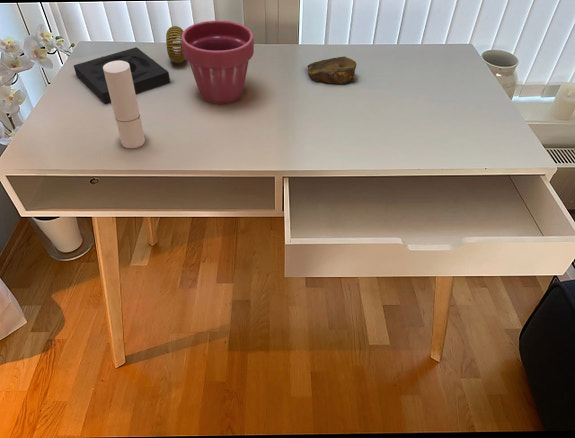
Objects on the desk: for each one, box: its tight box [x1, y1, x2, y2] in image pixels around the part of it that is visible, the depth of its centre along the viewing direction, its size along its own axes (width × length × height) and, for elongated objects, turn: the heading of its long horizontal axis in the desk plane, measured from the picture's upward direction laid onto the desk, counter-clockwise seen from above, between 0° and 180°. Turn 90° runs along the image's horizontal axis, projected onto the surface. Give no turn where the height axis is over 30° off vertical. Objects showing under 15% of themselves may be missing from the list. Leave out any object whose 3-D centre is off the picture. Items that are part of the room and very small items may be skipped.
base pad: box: [73, 46, 171, 105], centre depth 111 cm, size 15×15×2 cm
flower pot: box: [181, 20, 255, 104], centre depth 104 cm, size 14×14×13 cm
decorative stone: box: [306, 55, 357, 85], centre depth 114 cm, size 10×9×4 cm
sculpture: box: [165, 25, 186, 64], centre depth 116 cm, size 8×4×8 cm, turn 6°
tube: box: [103, 61, 146, 149], centre depth 90 cm, size 4×4×15 cm
